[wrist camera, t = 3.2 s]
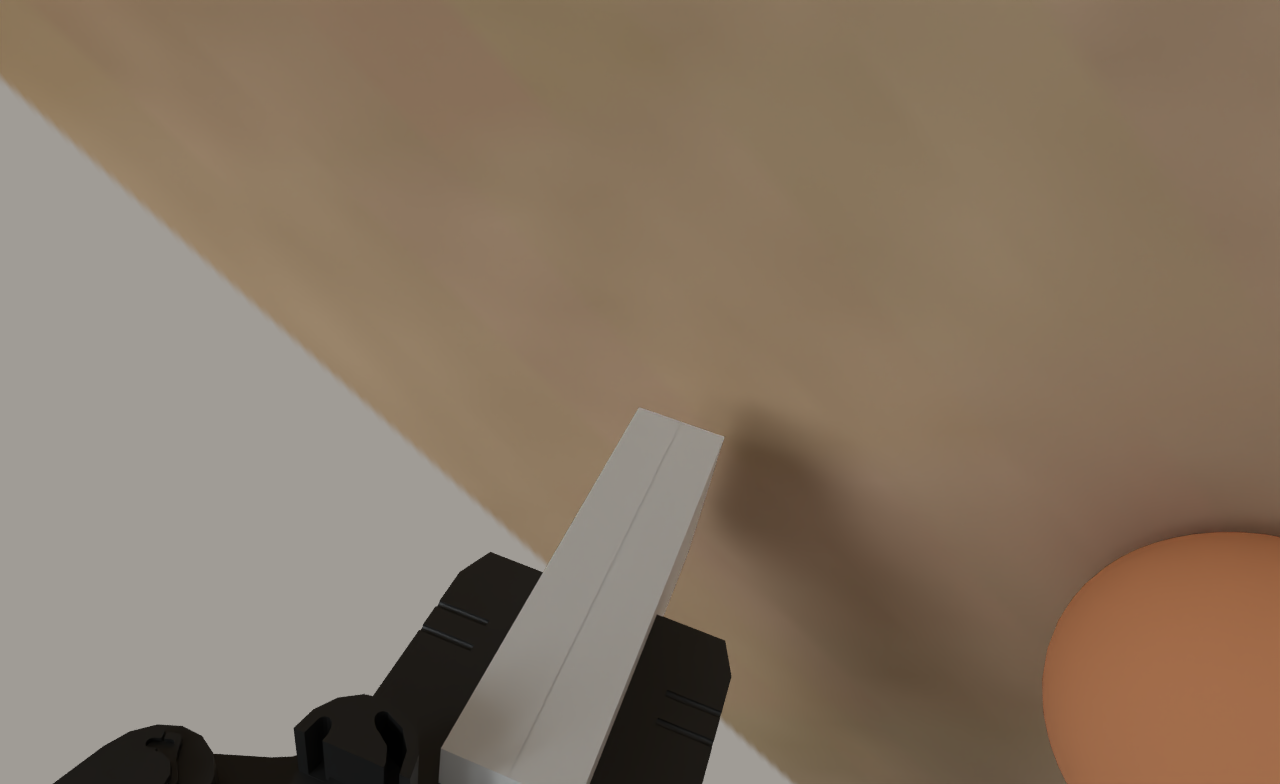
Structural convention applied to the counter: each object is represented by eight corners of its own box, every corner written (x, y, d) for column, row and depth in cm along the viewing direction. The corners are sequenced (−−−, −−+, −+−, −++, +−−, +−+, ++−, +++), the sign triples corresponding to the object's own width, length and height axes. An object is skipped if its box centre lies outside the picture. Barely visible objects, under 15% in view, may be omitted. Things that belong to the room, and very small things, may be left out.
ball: (1124, 415, 13) (1211, 694, 9) (1500, 533, 12) (1806, 908, 8) (980, 629, 16) (990, 913, 12) (1270, 734, 15) (1396, 1081, 11)
